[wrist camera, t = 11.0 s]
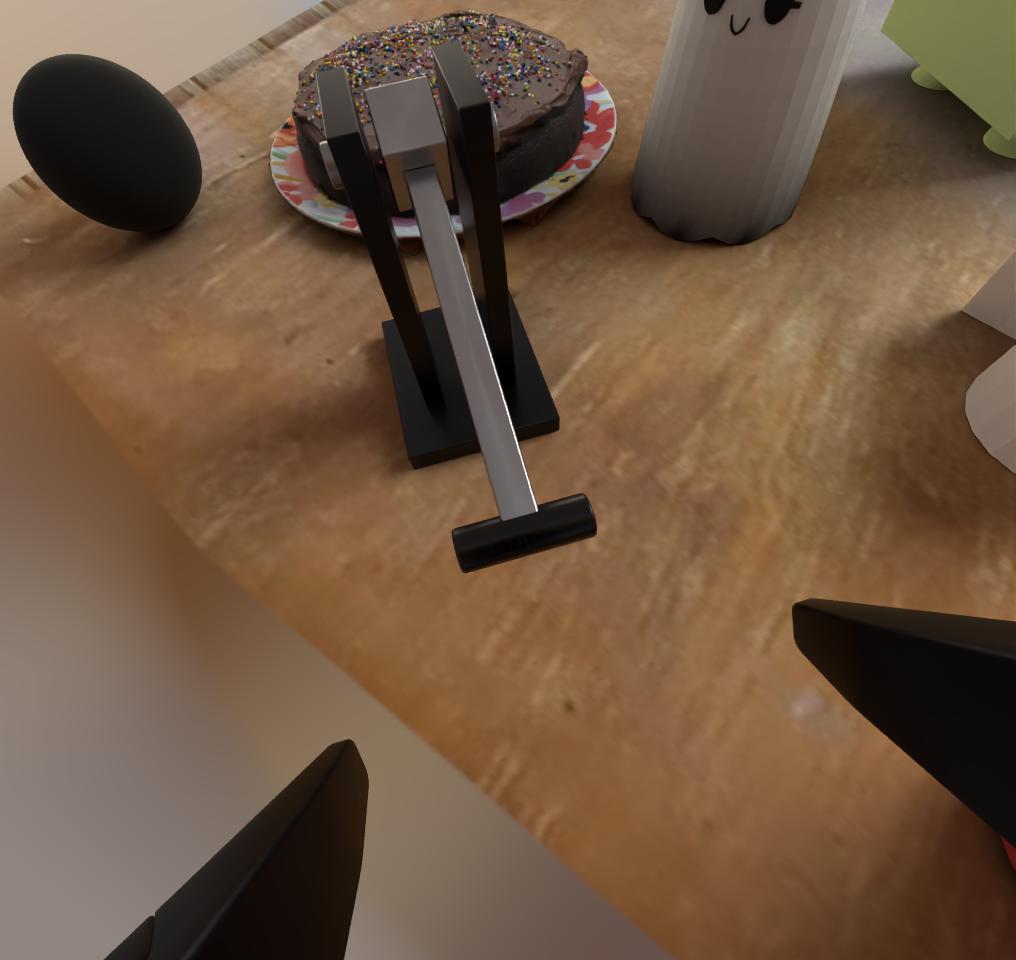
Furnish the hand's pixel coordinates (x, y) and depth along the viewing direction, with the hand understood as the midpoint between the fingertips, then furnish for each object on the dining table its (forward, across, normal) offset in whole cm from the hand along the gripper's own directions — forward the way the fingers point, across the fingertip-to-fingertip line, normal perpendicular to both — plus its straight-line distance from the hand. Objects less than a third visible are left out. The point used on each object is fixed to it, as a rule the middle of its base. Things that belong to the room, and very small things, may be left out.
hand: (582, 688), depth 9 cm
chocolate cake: (+39, +4, +22) cm, 45 cm away
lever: (+10, 0, +7) cm, 12 cm away
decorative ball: (+38, -19, +21) cm, 47 cm away
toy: (+28, +20, +12) cm, 37 cm away
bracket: (+21, 0, +5) cm, 21 cm away
